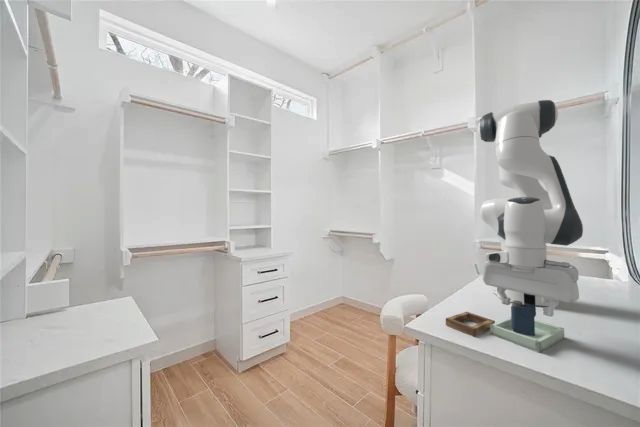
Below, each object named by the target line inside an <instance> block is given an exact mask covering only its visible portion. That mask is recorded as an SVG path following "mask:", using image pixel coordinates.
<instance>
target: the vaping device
mask: <svg viewBox="0 0 640 427" xmlns="http://www.w3.org/2000/svg"><path fill="white" fill-rule="evenodd" d="M510 309H511V310H510V313H511V314H510V315H511V316H510V317H511V324H512V329H513V331H514V332H515V333H519V334H525V335H530V336H535V321H534V320H535V317H536V316H537V311H536V310H537V307H536V305H535V295H530V294H526V293H524V304H522V302H521V301H513V302H512V304H511V307H510Z"/></svg>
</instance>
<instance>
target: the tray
mask: <svg viewBox="0 0 640 427" xmlns="http://www.w3.org/2000/svg"><path fill="white" fill-rule="evenodd" d="M534 321H535V336H530V335H525V334H519V333H515V332H514V331H513V329H512V324H511V316H510V317H509V316H508V317H507V318H504V319H502V320H499V321H497V322H495V323H494V324H492V325H490V330H489V331H490V335H492V336H494V337H497V338H499V339H502V340H505V341H508V342H510V343H513V344H515V345H518V346H521V347H524V348H526V349H527V350H532V351H534V352H537V353H538V354H539V353H542V352H543V351H546V350H547V349H548V348H550V347H551V346H552V347H553V346H554V345H555V344H557V343H559V342H560V341H562V340H565V327H560V326H556V325H555V324H554V325H553V324H549V323H545V322H543V321H540V320H536V319H534Z"/></svg>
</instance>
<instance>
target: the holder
mask: <svg viewBox="0 0 640 427" xmlns="http://www.w3.org/2000/svg"><path fill="white" fill-rule="evenodd" d="M467 321H470V322H472V323H475V324H474V325H469V324H467V323H463V322H467ZM495 321H496V320H493V319H491V318H487V317H485V316H481V315H478V314H475V313H472V312H469V311H464V312H461V313H457V314H455V315H451V316H449V317H445V326H446V325H447V326H446V327H449V328H452V329H453V330H457V331H459V332H461V333H464V334H467V335H469V336H470V337H471V336H472V337H476V336H478V335H481V334H485V332H488V331H490V325H492V324H494V323H496V322H495Z"/></svg>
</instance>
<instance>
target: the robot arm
mask: <svg viewBox="0 0 640 427" xmlns="http://www.w3.org/2000/svg"><path fill="white" fill-rule="evenodd" d="M558 116H559V112H558V107H557V106H556V104H555V101H553V100H551V99H542V100H537V101H535V102H534V101H533V102H528V103H527V102H526V103H521V104H518V105H517V104H516V105H514V106H511V107H507V108H504V109H500V110H497V111H495V112H492V111H491V112H489V113H486V114H484V115H482V117H481V118H480V119H479V122H478V125H477V133H478V135H479V137H480V139H481V141H482V142H485V143H495V146H494V147H495V148H494V150H495V159H496V162H497V165H498V179H499V182H500V184H502V185H503V186H505V187H506V188H511V189H514V190H515V191H516V192H517V196H508V197H496V198H492V199H487V200H485V201H483V203H481V205H480V208H479V215H480V218H481V220H482V221H483V222H484V223H485V224H487V225H489V226H490V227H491V228H492V229H493V230H494V231H495V233H496V235H497V236H498V239H499V242H500V250H497V251H492V252H488V253H485V255H484V259H485V263H484V264H483V268H482V281H483V283H484V284H485V285H486V286H490V287H494V288H496V289H495V290H493V292H492V293H493V294H494V295H496V297H497V298H499V299H501V304H503V305H506V306H509V305H512V304H511V303H513V301H521V302H522V305H524V293H526V294H530V295H535V306H538V307H539V306H540V307H543V308H542V311H543V315H544V316H547V317H554V315H555V314H554V309H555V308H556V307H557V306H558V305H559V304H560V302H563V303H567V304H572V303H575V302H576V301H578V300H579V299H580V290H579V285H578V280H579V270H578V269H577V267H576V266H575V265H572V264H571V263H569V262H567V261H566V262H565V261H564V262H563V261H554V260H549V259H548V257H547V256H548V254H547V252H548V251H547V249H548V248H547V244H549V245H559V246H570V245H571V244H573V243H575V242H577V241H578V240H580V239H581V238H582V236H583V233H584V225H583V221H582V218H581V217H580V215H579V212H578V211H577V208H576V207H575V204H574V202H573V199H572V195H571V194H570V191H569V187H568V185H567V182H566V179H565V176H564V173H563V171H562V168H561V166H560V163H559V161H558V160H557V158H556V157H555V156H552V155H549V154H547V153H546V152H545V151H544V150H543V147H542V146H541V143H540V138H542V136H543V135H544V134H546V133H548V132H550V131H551V130H552V129H553V128H554V127H555V124H556V122H557V120H558ZM540 182H541V183H542V184H543V185H544V186H545V188H544V187H543V185H541V183H540Z"/></svg>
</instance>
